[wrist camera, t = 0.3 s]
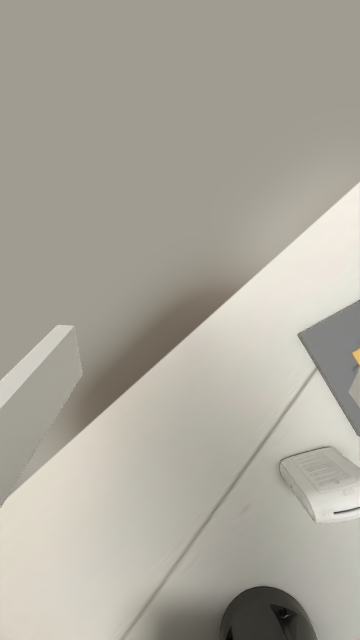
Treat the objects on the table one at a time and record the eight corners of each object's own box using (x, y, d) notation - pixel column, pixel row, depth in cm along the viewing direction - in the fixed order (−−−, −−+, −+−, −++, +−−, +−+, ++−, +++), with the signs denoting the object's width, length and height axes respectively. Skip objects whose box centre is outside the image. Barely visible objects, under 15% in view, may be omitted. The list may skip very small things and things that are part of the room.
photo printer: (283, 484, 43) (320, 539, 31) (275, 458, 44) (309, 503, 31) (340, 468, 43) (401, 517, 31) (332, 442, 44) (388, 481, 31)
